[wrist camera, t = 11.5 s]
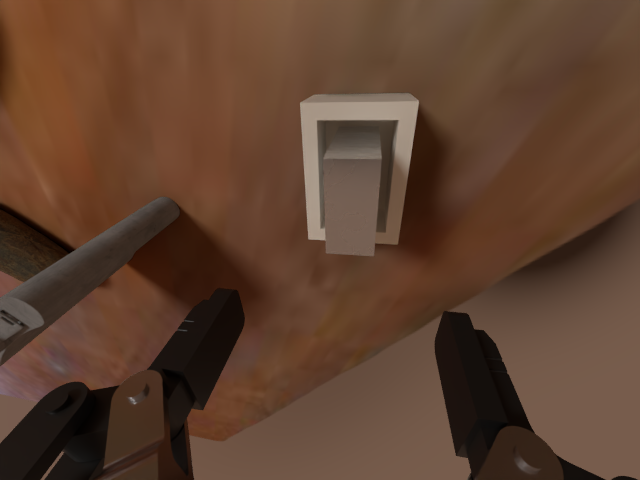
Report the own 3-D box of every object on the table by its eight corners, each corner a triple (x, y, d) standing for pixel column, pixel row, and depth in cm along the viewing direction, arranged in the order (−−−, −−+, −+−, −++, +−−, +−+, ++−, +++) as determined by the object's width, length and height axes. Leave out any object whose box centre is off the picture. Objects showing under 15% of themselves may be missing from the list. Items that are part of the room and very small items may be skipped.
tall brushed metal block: (378, 125, 24) (381, 159, 16) (373, 198, 28) (373, 256, 20) (339, 126, 25) (322, 158, 17) (339, 197, 29) (325, 253, 20)
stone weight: (-17, 218, 42) (-77, 242, 36) (-17, 186, 38) (-83, 208, 33) (79, 275, 45) (38, 305, 40) (88, 251, 42) (45, 280, 36)
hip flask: (126, 263, 42) (-36, 396, 25) (102, 244, 40) (-86, 372, 24) (184, 211, 35) (13, 348, 18) (158, 186, 33) (-54, 309, 17)
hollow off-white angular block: (409, 92, 24) (419, 101, 19) (393, 214, 30) (397, 244, 25) (314, 94, 25) (300, 102, 20) (318, 211, 32) (308, 239, 27)
